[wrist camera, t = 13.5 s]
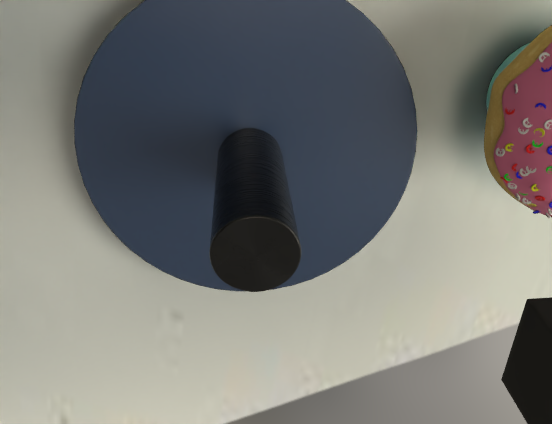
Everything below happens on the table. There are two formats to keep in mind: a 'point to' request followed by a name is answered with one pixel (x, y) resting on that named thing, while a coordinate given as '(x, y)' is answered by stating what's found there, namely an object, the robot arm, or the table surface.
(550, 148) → the cupcake
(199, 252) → the pot lid
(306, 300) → the table surface
